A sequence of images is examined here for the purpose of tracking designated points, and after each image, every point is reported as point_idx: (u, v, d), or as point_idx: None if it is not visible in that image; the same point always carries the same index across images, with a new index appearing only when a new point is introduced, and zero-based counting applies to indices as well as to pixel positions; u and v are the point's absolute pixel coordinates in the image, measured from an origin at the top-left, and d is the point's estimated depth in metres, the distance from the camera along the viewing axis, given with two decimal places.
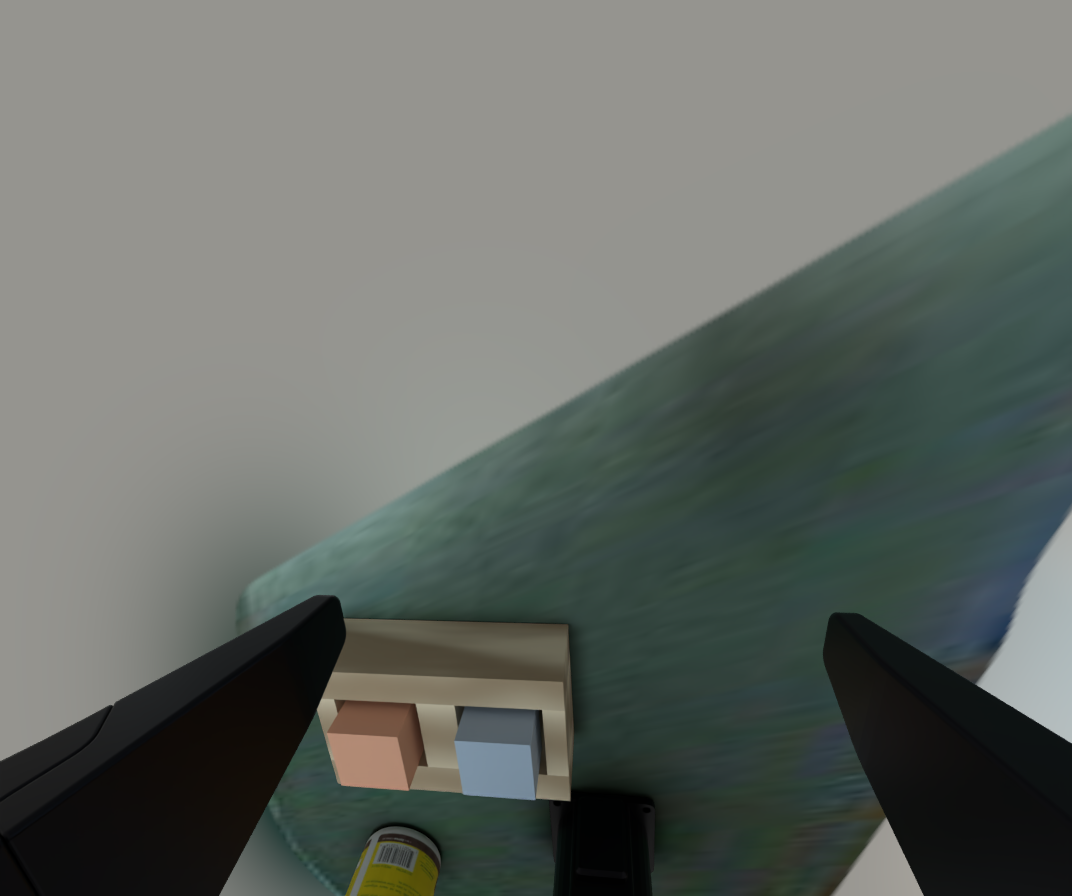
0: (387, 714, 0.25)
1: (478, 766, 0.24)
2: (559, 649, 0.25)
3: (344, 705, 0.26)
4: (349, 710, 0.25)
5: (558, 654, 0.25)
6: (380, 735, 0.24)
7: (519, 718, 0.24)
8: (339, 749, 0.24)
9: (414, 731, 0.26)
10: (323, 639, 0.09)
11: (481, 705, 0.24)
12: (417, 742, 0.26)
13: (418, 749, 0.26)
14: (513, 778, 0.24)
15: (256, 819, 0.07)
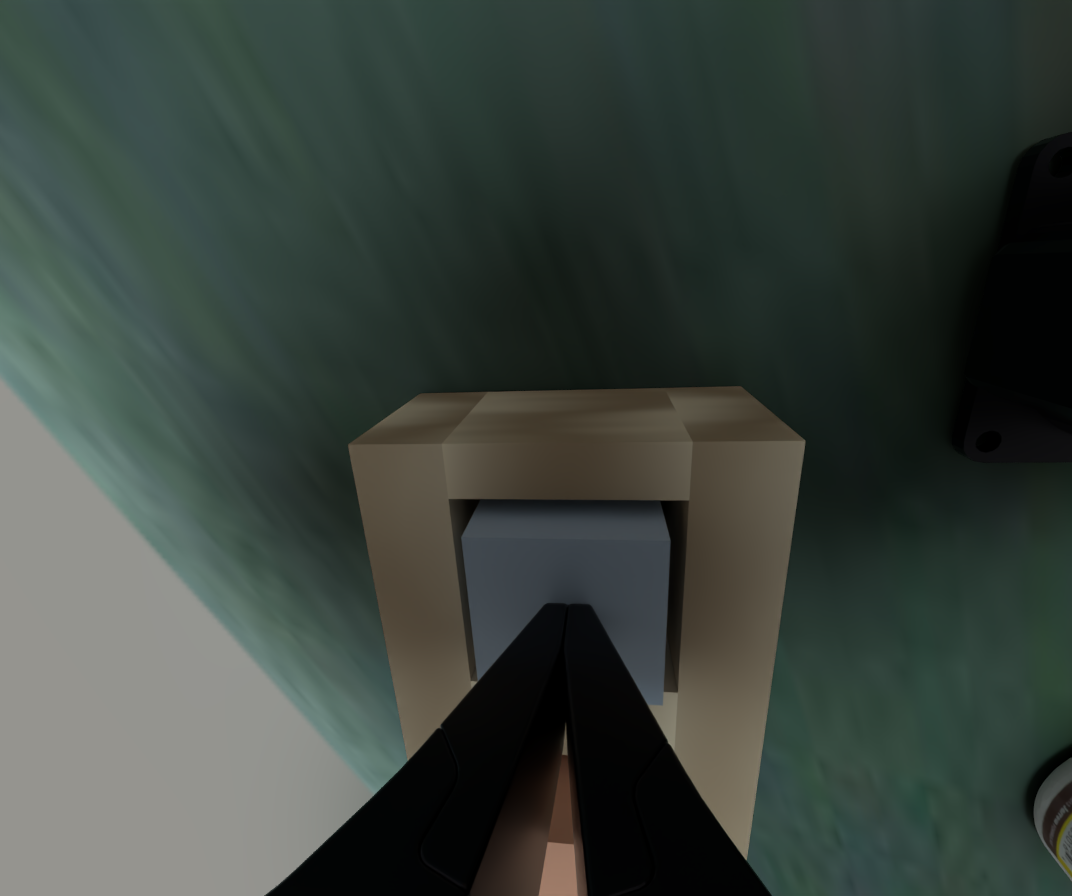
0: None
1: None
2: None
3: None
4: None
5: None
6: None
7: None
8: None
9: (562, 767, 0.11)
10: None
11: (460, 628, 0.10)
12: None
13: None
14: (588, 587, 0.09)
15: (545, 848, 0.07)
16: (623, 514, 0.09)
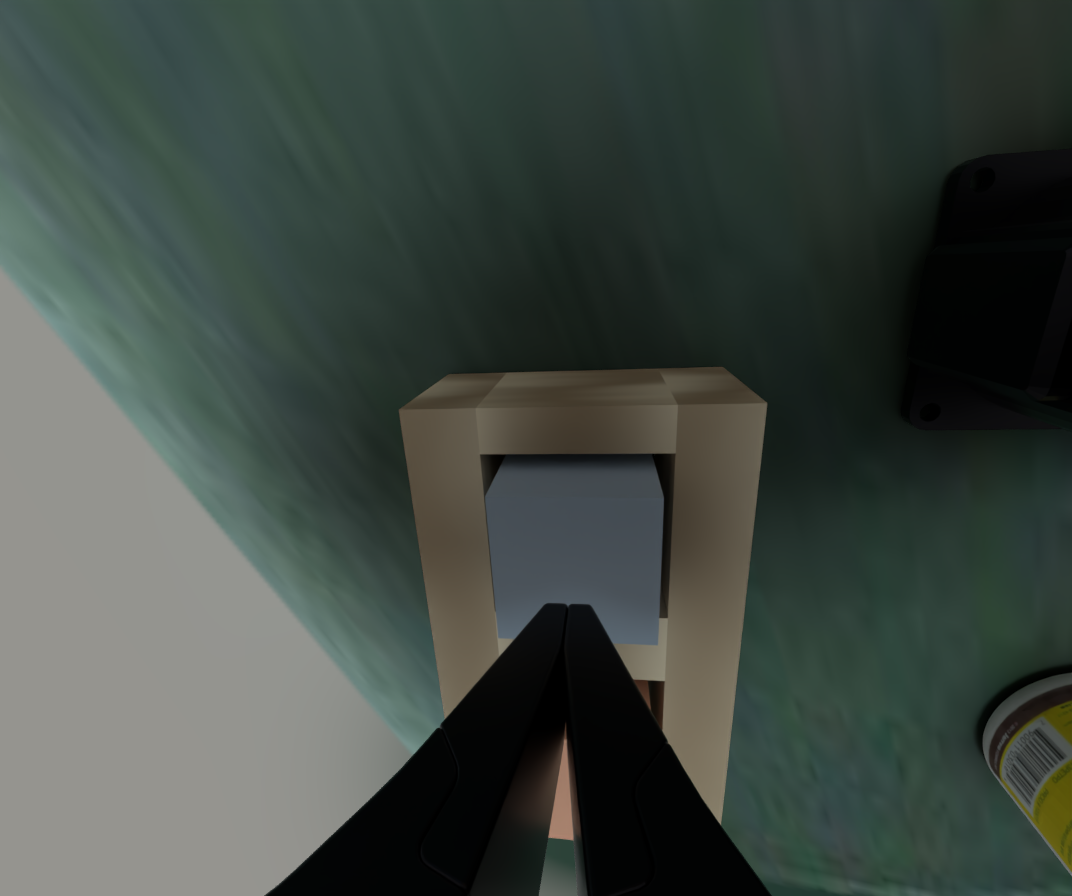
0: None
1: None
2: None
3: None
4: None
5: None
6: None
7: None
8: (552, 826, 0.13)
9: None
10: None
11: (487, 565, 0.12)
12: None
13: None
14: (594, 539, 0.10)
15: (545, 847, 0.07)
16: (624, 478, 0.11)
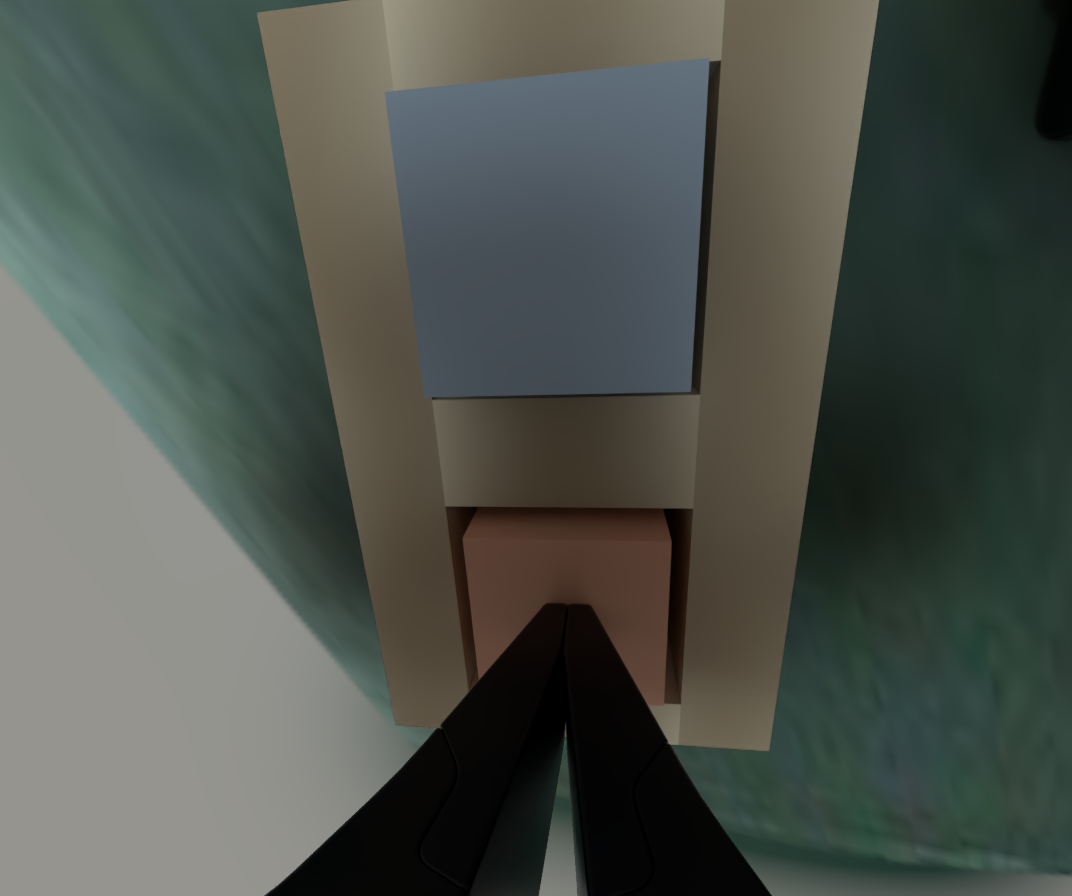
0: None
1: (533, 321, 0.06)
2: None
3: None
4: None
5: None
6: (467, 577, 0.09)
7: None
8: None
9: None
10: None
11: None
12: None
13: None
14: (580, 170, 0.06)
15: (545, 848, 0.07)
16: None
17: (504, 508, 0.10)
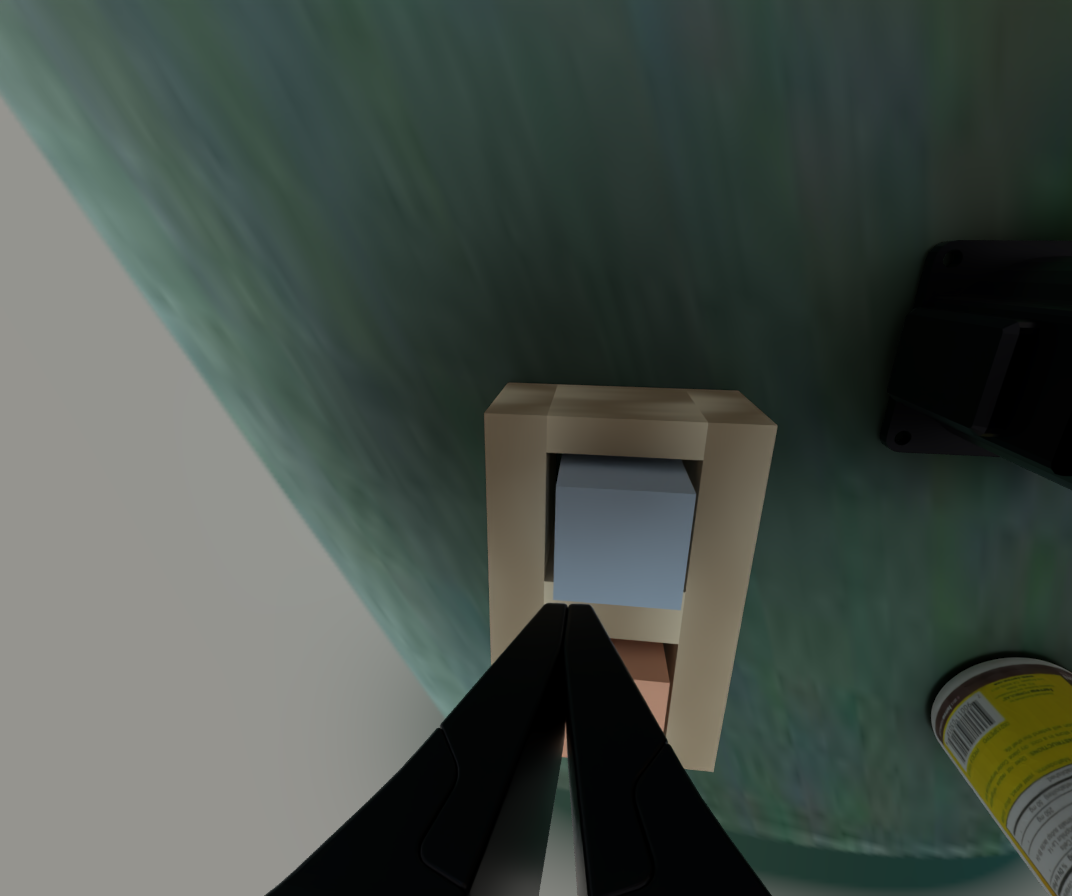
0: None
1: (610, 575, 0.14)
2: None
3: None
4: None
5: None
6: None
7: None
8: None
9: None
10: None
11: (542, 543, 0.15)
12: None
13: (642, 641, 0.17)
14: (638, 524, 0.13)
15: (545, 848, 0.07)
16: (662, 478, 0.14)
17: None
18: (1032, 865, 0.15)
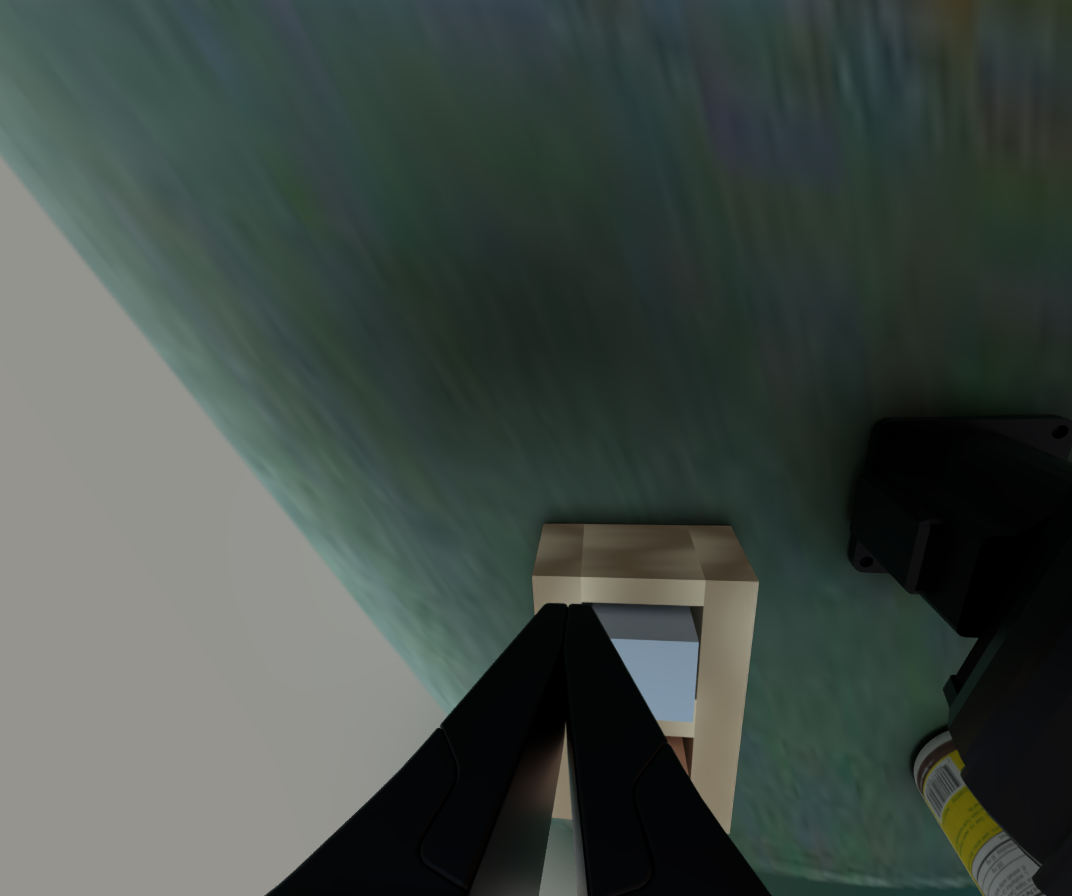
0: None
1: None
2: None
3: None
4: None
5: None
6: None
7: None
8: None
9: None
10: None
11: None
12: None
13: None
14: (656, 663, 0.17)
15: (545, 848, 0.07)
16: (672, 623, 0.18)
17: None
18: None
